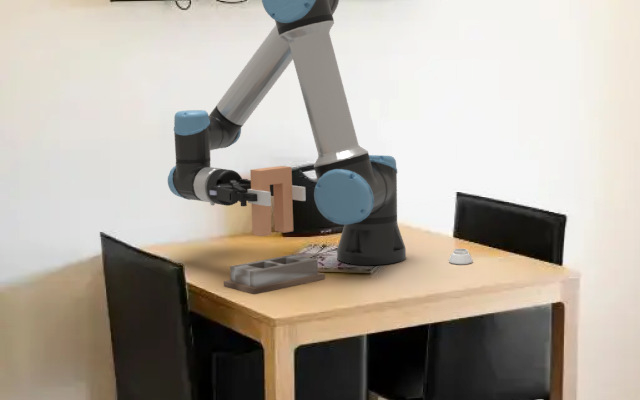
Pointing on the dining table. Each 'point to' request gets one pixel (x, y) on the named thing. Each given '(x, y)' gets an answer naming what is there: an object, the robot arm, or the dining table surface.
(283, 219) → the tan arch block
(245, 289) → the grey socket block
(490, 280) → the dining table surface
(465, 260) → the grey bowl
